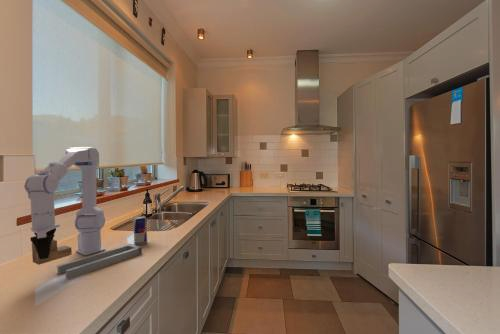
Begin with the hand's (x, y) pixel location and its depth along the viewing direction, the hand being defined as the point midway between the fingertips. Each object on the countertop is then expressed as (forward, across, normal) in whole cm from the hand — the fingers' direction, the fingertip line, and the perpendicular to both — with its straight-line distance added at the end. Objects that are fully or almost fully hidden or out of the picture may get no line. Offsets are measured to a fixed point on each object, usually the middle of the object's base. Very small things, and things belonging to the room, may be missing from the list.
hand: (45, 255), depth 81 cm
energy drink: (+9, +20, -32) cm, 39 cm away
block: (+2, +1, -2) cm, 3 cm away
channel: (+8, +6, -15) cm, 18 cm away
